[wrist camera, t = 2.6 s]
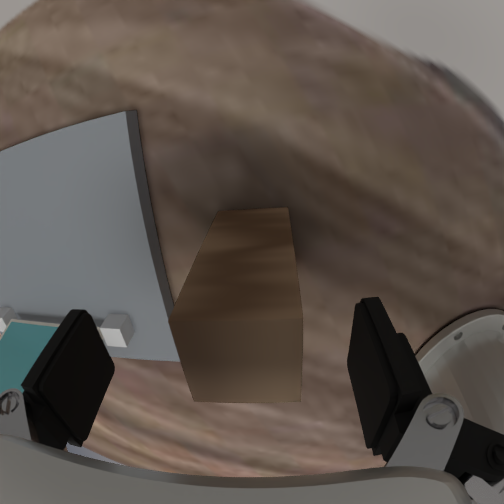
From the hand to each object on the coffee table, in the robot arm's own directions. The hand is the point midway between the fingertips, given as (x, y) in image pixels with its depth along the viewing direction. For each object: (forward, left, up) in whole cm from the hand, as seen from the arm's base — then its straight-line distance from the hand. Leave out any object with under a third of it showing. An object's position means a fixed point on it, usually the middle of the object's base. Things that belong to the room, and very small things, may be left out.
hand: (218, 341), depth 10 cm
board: (+15, +1, -9) cm, 18 cm away
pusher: (-1, +1, -9) cm, 9 cm away
